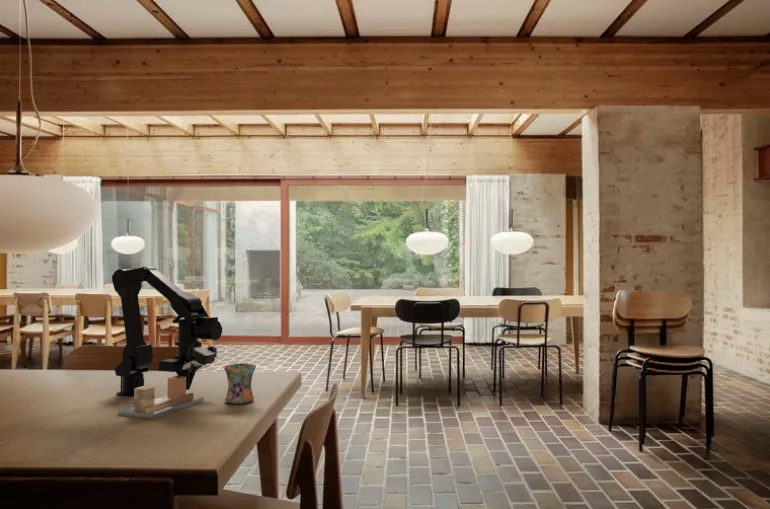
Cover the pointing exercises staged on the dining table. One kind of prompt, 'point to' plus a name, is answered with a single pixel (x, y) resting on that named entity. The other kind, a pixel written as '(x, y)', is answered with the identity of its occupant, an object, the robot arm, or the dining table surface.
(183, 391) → the slide leg
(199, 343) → the robot arm
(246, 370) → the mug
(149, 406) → the bar
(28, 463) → the dining table surface
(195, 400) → the flange plate
